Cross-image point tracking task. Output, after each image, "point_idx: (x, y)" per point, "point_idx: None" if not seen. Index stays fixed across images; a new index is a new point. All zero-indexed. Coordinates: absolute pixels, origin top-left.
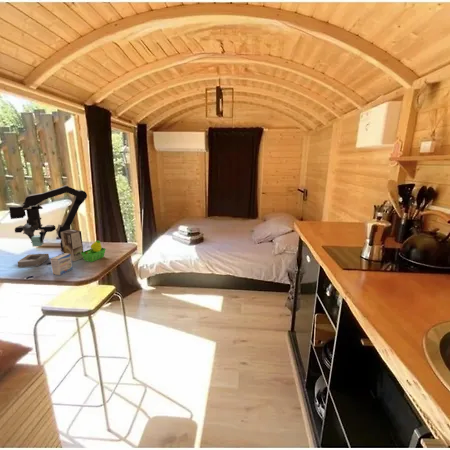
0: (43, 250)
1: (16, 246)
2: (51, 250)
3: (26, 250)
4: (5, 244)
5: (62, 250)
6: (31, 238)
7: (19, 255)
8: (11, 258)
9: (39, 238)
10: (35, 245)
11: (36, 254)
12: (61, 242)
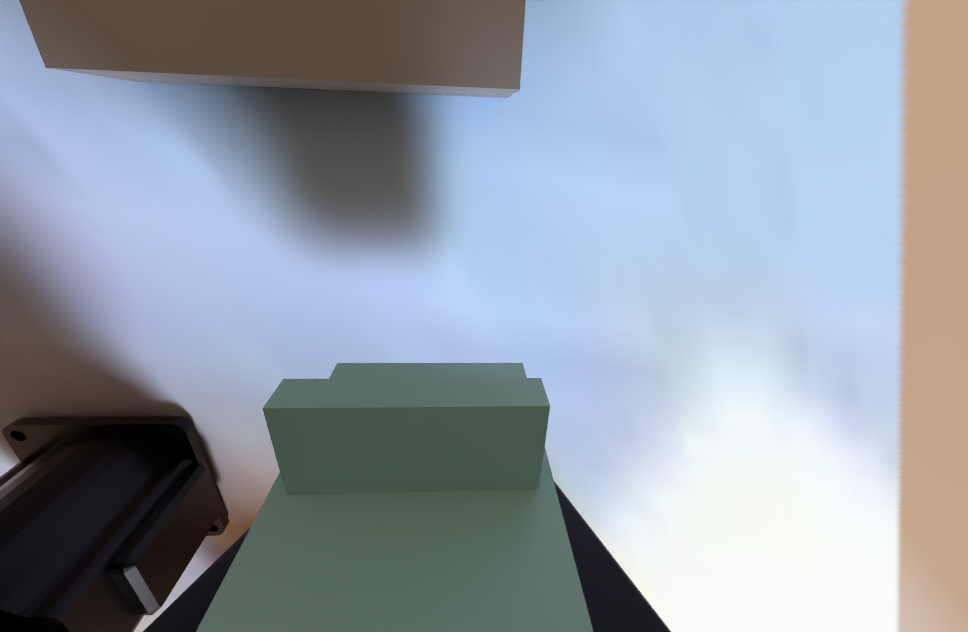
0: None
1: (793, 574)
2: None
3: (667, 468)
4: (889, 616)
5: (160, 417)
6: (585, 613)
7: (710, 297)
8: (803, 168)
9: (216, 619)
10: (453, 376)
11: (327, 48)
12: (85, 567)
